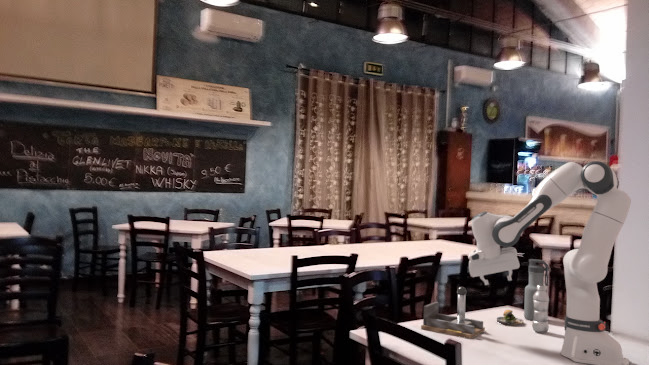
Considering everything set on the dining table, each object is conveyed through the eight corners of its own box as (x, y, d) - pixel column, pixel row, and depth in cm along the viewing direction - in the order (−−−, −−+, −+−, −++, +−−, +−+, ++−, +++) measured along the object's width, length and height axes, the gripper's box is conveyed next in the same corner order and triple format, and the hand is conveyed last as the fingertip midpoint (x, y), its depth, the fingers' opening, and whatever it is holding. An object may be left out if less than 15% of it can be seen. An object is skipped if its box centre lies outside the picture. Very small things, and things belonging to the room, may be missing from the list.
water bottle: (545, 317, 260) (546, 259, 260) (548, 322, 250) (550, 261, 250) (522, 315, 262) (524, 258, 262) (525, 320, 252) (527, 260, 253)
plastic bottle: (540, 334, 228) (542, 287, 228) (528, 330, 235) (529, 284, 235) (552, 333, 231) (553, 286, 231) (539, 329, 237) (541, 283, 237)
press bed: (484, 330, 232) (485, 308, 232) (470, 338, 219) (471, 315, 219) (436, 322, 245) (437, 301, 245) (421, 329, 232) (421, 306, 232)
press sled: (472, 327, 231) (473, 286, 231) (465, 331, 225) (466, 289, 225) (456, 324, 235) (457, 284, 235) (449, 328, 229) (450, 286, 229)
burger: (505, 327, 240) (505, 310, 240) (491, 320, 252) (491, 304, 252) (529, 326, 243) (529, 309, 243) (514, 320, 254) (514, 304, 254)
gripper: (514, 243, 224) (523, 275, 225) (465, 253, 231) (474, 284, 232) (515, 247, 218) (524, 280, 219) (465, 258, 225) (474, 289, 226)
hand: (498, 282), depth 225 cm, fingers open, 8 cm apart
